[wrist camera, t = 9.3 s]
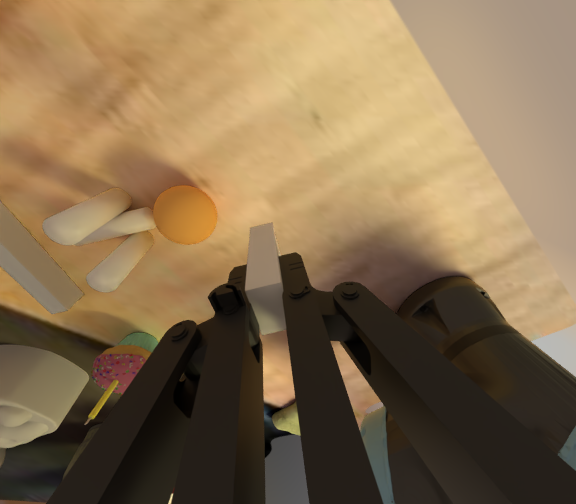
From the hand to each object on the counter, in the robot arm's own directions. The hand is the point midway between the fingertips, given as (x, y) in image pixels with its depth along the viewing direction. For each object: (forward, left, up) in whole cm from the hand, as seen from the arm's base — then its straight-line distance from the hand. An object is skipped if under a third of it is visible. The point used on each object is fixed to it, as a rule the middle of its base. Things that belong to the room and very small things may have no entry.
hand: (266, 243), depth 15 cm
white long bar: (+27, 0, -13) cm, 30 cm away
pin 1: (+15, -3, -13) cm, 20 cm away
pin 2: (+15, +2, -13) cm, 20 cm away
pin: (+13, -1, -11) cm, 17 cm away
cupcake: (+24, +19, -13) cm, 33 cm away
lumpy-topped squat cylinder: (+41, +19, -13) cm, 47 cm away
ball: (+8, 0, -10) cm, 12 cm away
